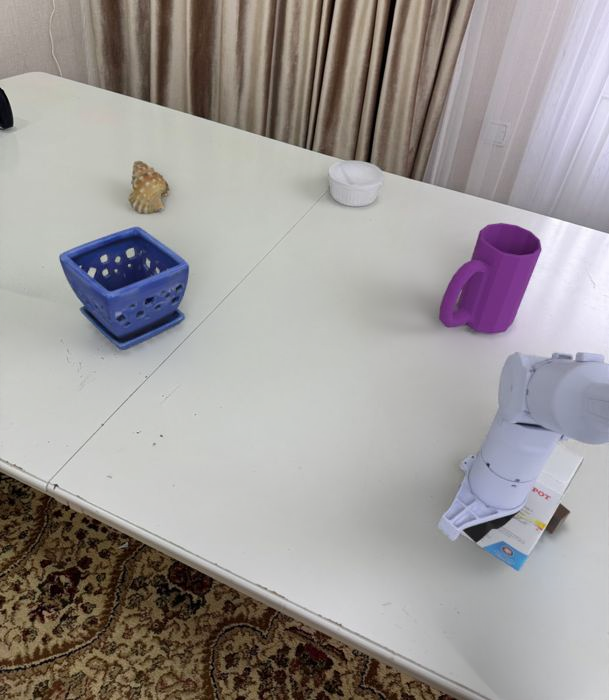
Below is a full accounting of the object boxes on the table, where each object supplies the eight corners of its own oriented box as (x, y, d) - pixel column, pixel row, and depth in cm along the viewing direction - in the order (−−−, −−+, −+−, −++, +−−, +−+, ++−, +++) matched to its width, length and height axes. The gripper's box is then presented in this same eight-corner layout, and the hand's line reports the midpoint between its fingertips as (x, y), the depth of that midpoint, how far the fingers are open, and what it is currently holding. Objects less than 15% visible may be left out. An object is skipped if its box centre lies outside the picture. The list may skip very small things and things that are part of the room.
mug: (523, 324, 100) (555, 245, 90) (455, 357, 93) (481, 276, 83) (482, 293, 106) (508, 216, 96) (414, 322, 99) (434, 242, 89)
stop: (561, 525, 73) (570, 511, 71) (551, 534, 72) (560, 520, 70) (482, 458, 80) (489, 443, 78) (472, 465, 79) (478, 450, 77)
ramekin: (314, 194, 127) (316, 170, 123) (349, 177, 133) (352, 154, 130) (357, 216, 122) (360, 192, 118) (390, 197, 128) (395, 174, 125)
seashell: (121, 216, 121) (111, 163, 119) (159, 211, 126) (150, 160, 124) (142, 214, 114) (132, 158, 112) (181, 209, 119) (172, 155, 117)
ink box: (543, 532, 72) (588, 458, 66) (518, 573, 66) (565, 495, 60) (477, 490, 76) (514, 416, 70) (448, 526, 70) (485, 448, 64)
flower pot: (145, 285, 101) (137, 221, 93) (195, 326, 94) (191, 261, 86) (70, 319, 94) (54, 252, 85) (119, 366, 87) (106, 299, 79)
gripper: (522, 397, 64) (485, 475, 73) (428, 466, 57) (400, 542, 66) (581, 442, 60) (534, 517, 69) (489, 521, 53) (450, 593, 62)
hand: (472, 532), depth 67 cm, fingers closed, pressing on ink box
